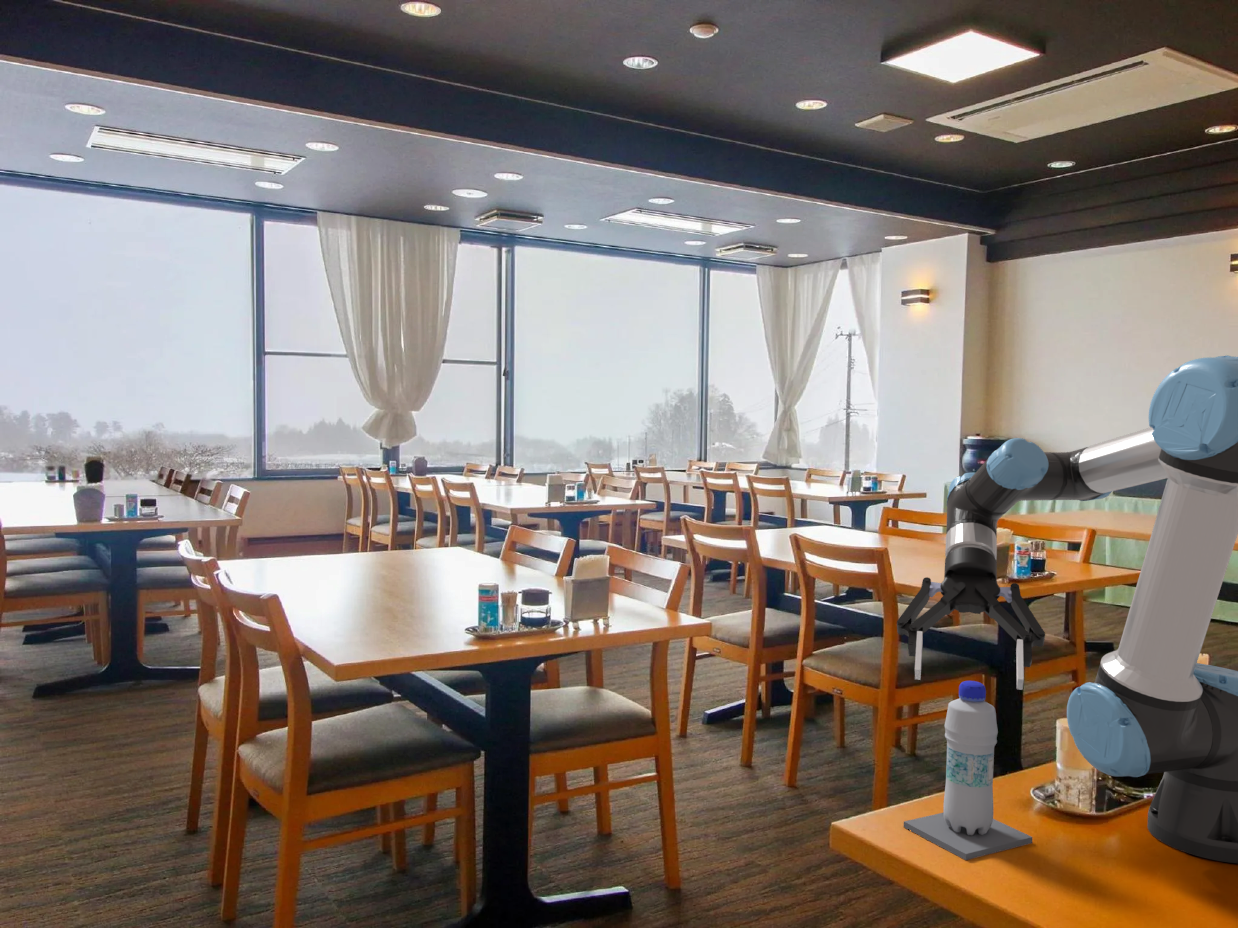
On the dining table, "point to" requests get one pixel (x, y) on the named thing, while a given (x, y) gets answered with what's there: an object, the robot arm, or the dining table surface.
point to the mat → (967, 837)
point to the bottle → (970, 760)
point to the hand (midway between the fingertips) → (968, 679)
